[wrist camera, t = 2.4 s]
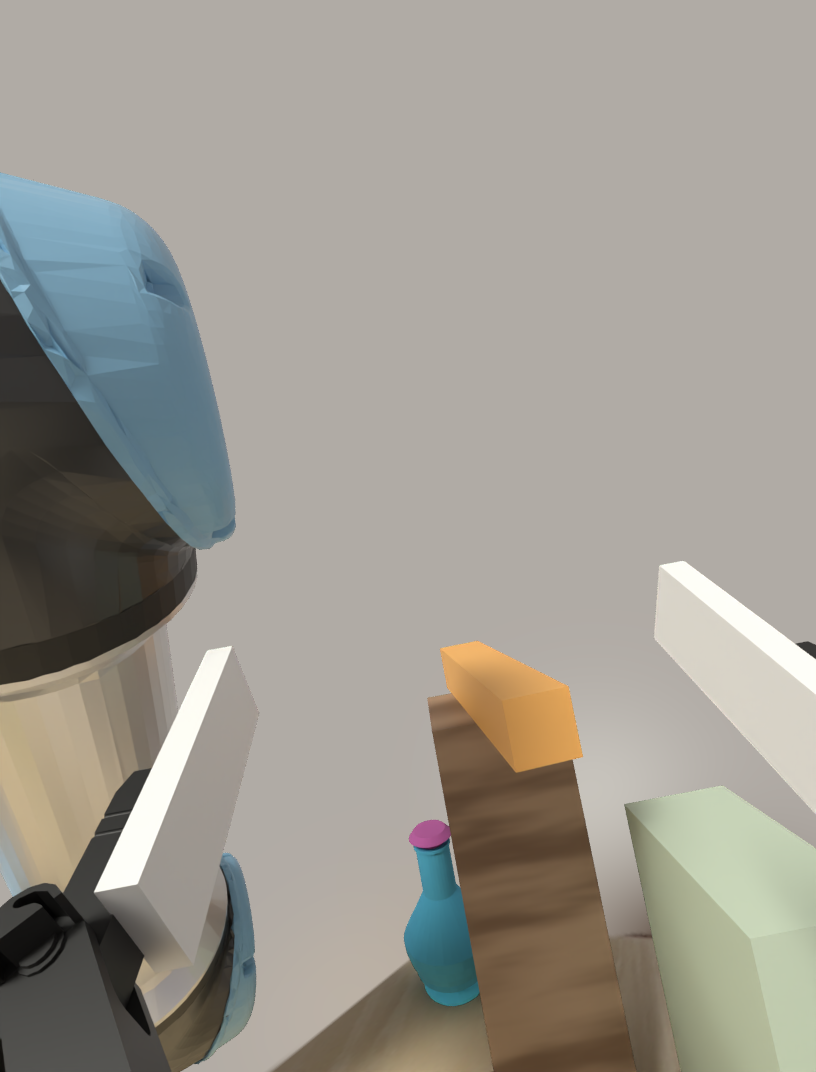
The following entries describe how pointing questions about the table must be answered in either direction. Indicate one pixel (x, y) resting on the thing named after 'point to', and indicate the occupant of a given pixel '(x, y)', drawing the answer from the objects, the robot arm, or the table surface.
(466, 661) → the bar
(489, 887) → the post
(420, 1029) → the table surface
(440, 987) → the perfume bottle
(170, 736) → the robot arm
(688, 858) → the pale green rectangular block
